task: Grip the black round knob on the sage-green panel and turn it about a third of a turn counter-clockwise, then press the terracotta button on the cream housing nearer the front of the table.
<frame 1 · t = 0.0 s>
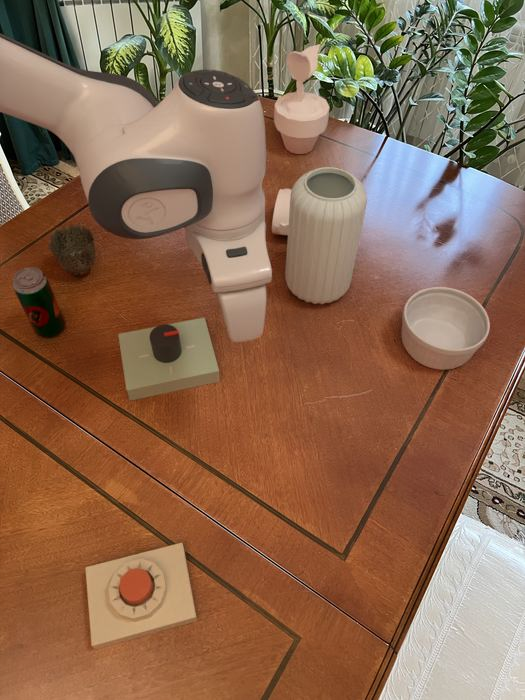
hand: (228, 307, 74), 18 cm above the table, tool pointing down, fingers open, 8 cm apart
ramekin: (435, 344, 94), on the table
knob: (165, 343, 87), point 5 cm above the table, hinge at 0.0°
button box: (142, 596, 70), on the table
panel: (169, 363, 91), on the table
soda can: (50, 328, 95), on the table
dark grey rounded lump: (81, 272, 103), on the table
potted plant: (300, 146, 128), on the table
vase: (316, 288, 102), on the table
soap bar: (300, 228, 111), on the table
button: (136, 586, 66), point 4 cm above the table, slide at 0.1 cm
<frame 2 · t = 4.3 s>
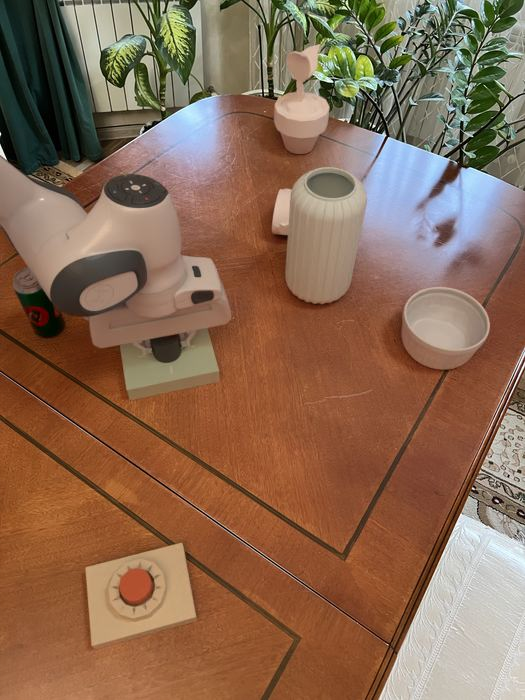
hand: (166, 347, 88), 4 cm above the table, tool pointing down, fingers closed on knob, 4 cm apart
knob: (165, 343, 87), point 5 cm above the table, hinge at 0.1°, touching gripper
everything else where it was.
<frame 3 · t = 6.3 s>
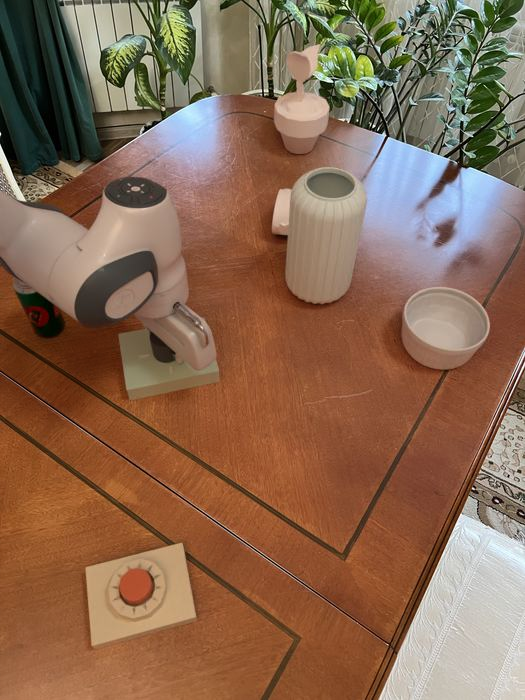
hand: (167, 347, 88), 4 cm above the table, tool pointing down, fingers closed on knob, 4 cm apart
knob: (165, 343, 87), point 5 cm above the table, hinge at 119.5°, touching gripper
everything else where it was.
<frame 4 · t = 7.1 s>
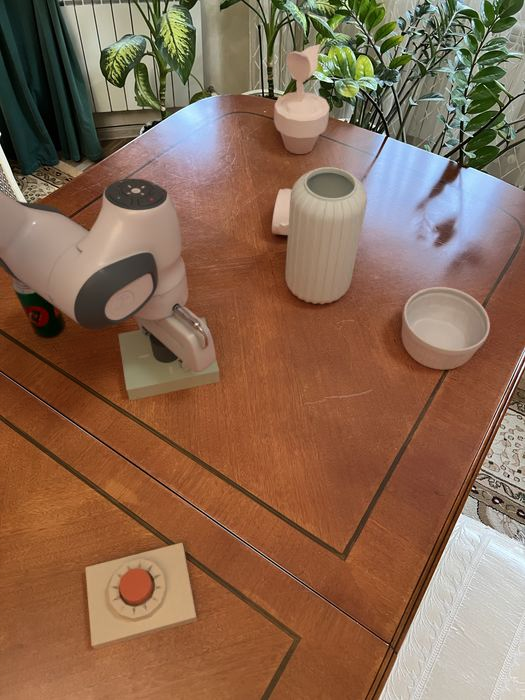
hand: (166, 349, 88), 4 cm above the table, tool pointing down, fingers open, 8 cm apart
knob: (165, 343, 87), point 5 cm above the table, hinge at 119.2°
everything else where it was.
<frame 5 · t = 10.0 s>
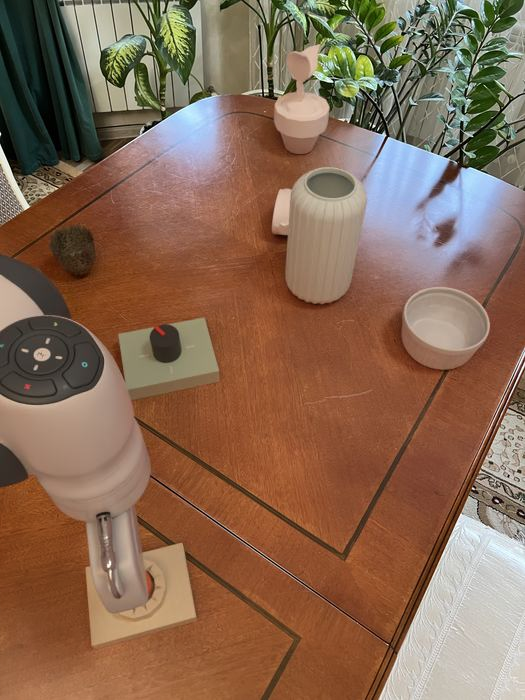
hand: (125, 523, 60), 15 cm above the table, tool pointing down, fingers open, 8 cm apart
nothing on the table moved.
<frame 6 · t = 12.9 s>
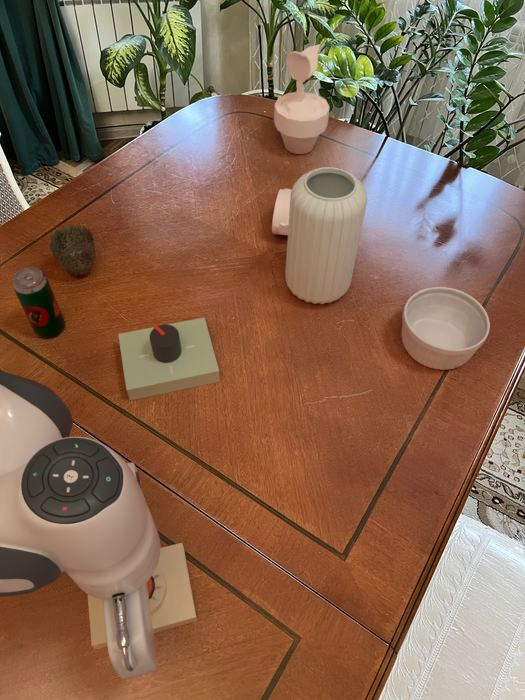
hand: (136, 586, 66), 5 cm above the table, tool pointing down, fingers closed, pressing on button
button: (136, 587, 67), point 4 cm above the table, slide at -0.4 cm, touching gripper
everything else where it was.
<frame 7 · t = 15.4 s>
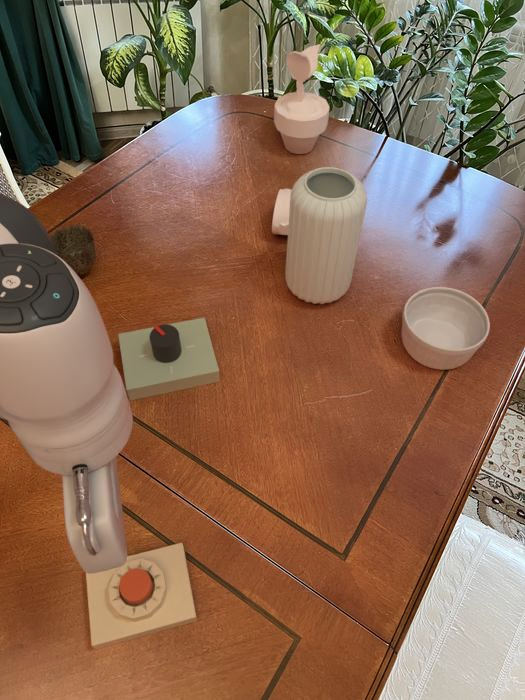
hand: (107, 486, 57), 20 cm above the table, tool pointing down, fingers closed
button: (136, 586, 66), point 4 cm above the table, slide at 0.1 cm
everything else where it was.
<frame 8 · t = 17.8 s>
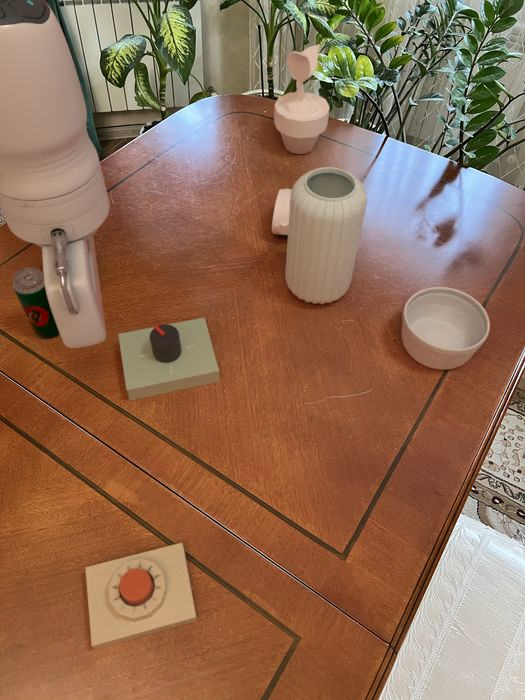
hand: (90, 304, 60), 29 cm above the table, tool pointing down, fingers closed
nothing on the table moved.
at the end: knob at +119° (first picture: +0°); button pushed in 1.1 cm at the most during the clip, back to where it started at the end; button slide at 0.1 cm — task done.
